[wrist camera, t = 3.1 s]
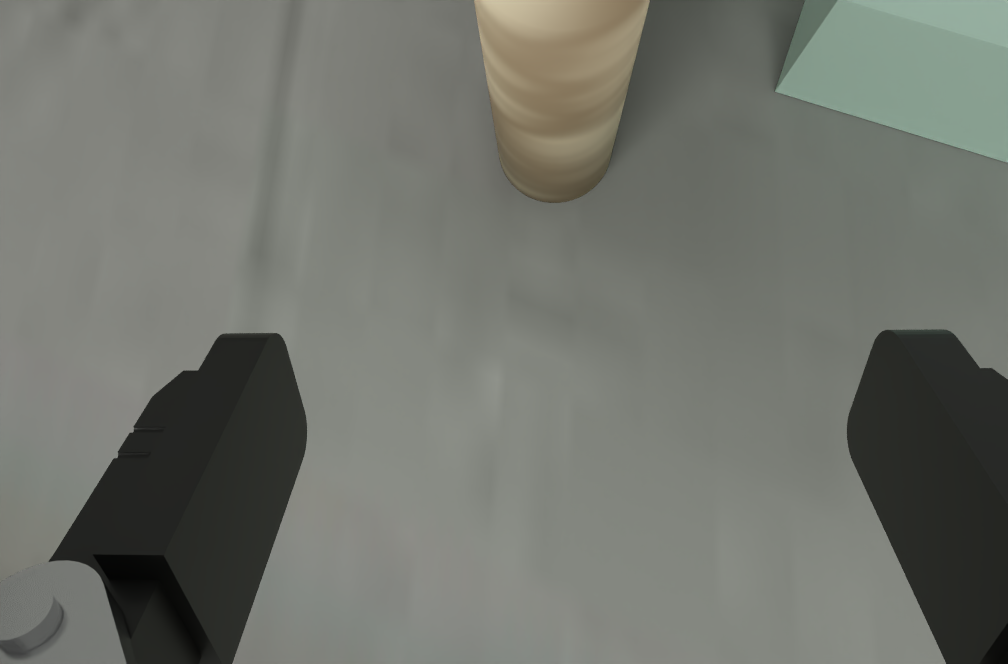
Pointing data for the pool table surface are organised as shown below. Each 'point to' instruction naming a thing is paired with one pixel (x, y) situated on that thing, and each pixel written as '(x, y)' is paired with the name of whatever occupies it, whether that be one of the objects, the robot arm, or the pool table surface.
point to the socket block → (908, 66)
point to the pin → (558, 87)
